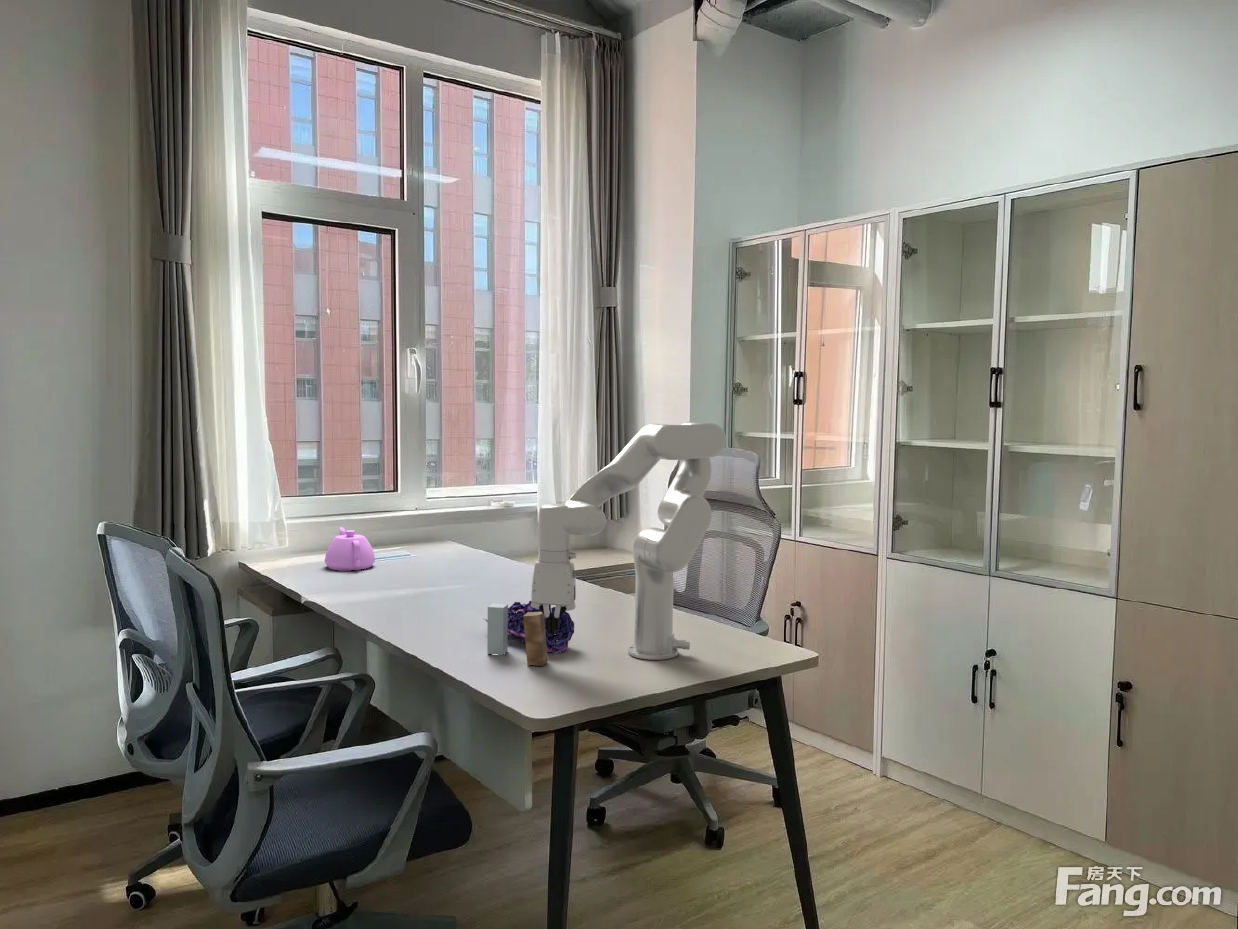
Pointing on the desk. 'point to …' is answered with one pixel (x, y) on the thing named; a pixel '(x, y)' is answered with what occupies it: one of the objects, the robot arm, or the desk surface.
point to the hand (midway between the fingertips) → (552, 632)
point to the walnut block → (535, 638)
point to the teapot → (349, 552)
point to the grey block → (497, 629)
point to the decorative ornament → (562, 634)
